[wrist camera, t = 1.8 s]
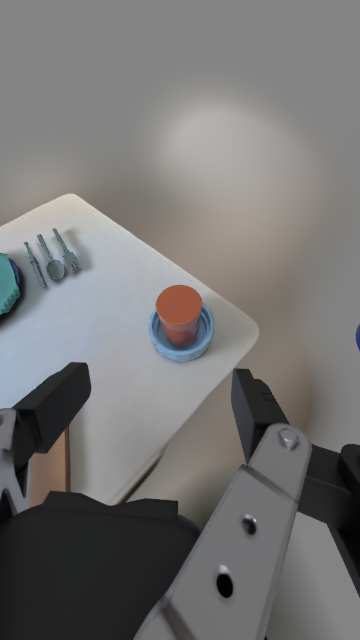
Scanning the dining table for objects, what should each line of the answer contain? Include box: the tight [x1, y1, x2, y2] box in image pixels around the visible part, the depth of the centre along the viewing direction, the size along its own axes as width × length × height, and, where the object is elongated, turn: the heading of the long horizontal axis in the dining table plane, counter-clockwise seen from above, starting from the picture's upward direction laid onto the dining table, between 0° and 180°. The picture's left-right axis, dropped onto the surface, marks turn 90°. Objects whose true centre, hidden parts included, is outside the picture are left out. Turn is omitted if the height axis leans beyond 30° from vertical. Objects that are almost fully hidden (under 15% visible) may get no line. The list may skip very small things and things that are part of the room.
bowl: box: [148, 302, 214, 361], centre depth 30 cm, size 9×10×4 cm
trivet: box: [29, 425, 70, 508], centre depth 25 cm, size 16×10×1 cm, turn 106°
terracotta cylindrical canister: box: [156, 285, 202, 349], centre depth 28 cm, size 6×6×8 cm
